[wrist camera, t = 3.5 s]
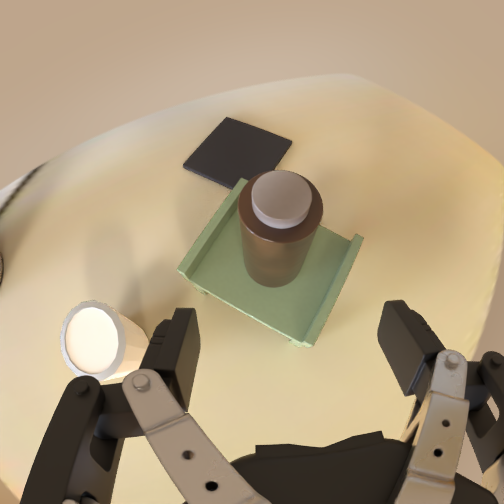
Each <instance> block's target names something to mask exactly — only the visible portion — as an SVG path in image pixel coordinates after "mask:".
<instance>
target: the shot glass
mask: <svg viewBox="0 0 504 504" xmlns="http://www.w3.org/2000/svg"><path fill="white" fill-rule="evenodd" d="M60 342H61V352H62V354H63V357H64V359H65V362H66V364H67V366H68V367H69V368H70V369H71V370H72V371H73V372H74V373H75V375H76V376H78V377H79V376H83V375H89V376H92V377H95V378H96V379H97V380H98V381H105V380H109V379H113V378H117V377H122V376H126V375H128V374H129V373H131V372H132V371H135V370H138V369H139V367H140V364H141V362H142V359H143V357H144V355H145V352H146V350H147V347H148V345H149V342H148V338H147V336H146V334H145V333H144V331H143V330H142V329H141V328H140V327H139V326H138V325H136V324H135V323H134V322H132V321H131V320H129V319H128V318H126V317H125V316H123V315H122V314H120V313H119V312H117V311H116V310H114V309H113V308H112V307H110V306H109V305H107V304H105V303H102V302H98V301H95V300H92V301H86V302H81V303H80V304H78V305H77V306H76V307H74V308H73V309H71V311H70V312H69V314H68V315H67V317H66V318H65V320H64V322H63V326H62V330H61V334H60Z"/></svg>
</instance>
